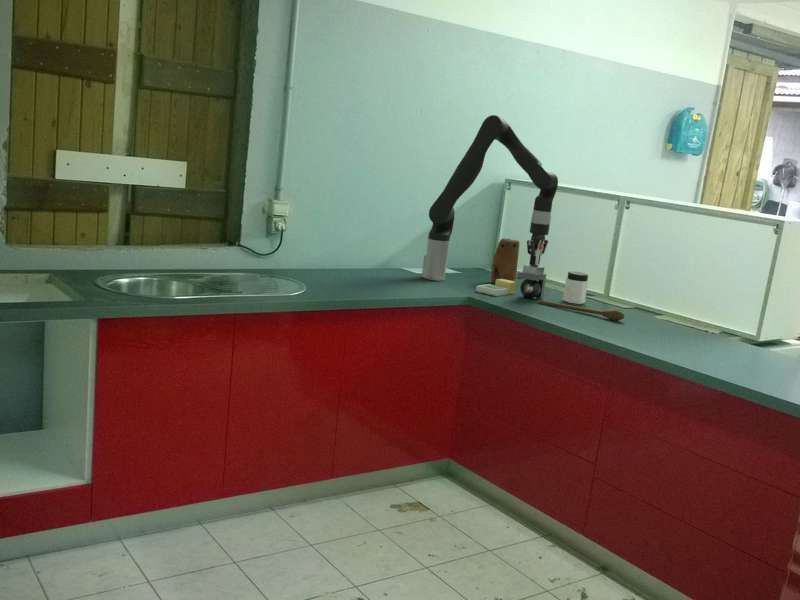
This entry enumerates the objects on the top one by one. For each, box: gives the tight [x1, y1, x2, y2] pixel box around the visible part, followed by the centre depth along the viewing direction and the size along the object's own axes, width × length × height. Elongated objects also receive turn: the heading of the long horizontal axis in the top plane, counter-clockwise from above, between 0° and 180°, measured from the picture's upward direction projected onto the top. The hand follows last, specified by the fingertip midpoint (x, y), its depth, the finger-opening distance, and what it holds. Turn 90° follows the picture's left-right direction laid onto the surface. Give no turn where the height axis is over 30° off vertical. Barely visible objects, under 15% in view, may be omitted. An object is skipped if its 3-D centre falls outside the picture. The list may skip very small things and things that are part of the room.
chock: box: [494, 279, 517, 295], centre depth 334 cm, size 7×5×5 cm
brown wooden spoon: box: [537, 299, 625, 322], centre depth 308 cm, size 5×35×5 cm
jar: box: [562, 271, 589, 305], centre depth 329 cm, size 9×8×12 cm
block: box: [490, 238, 521, 284], centre depth 351 cm, size 11×8×20 cm
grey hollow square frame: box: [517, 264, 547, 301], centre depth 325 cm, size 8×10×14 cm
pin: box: [530, 244, 543, 267], centre depth 323 cm, size 4×4×12 cm
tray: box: [475, 283, 509, 297], centre depth 328 cm, size 10×10×2 cm
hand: (534, 264), depth 323 cm, fingers closed on pin, 3 cm apart
